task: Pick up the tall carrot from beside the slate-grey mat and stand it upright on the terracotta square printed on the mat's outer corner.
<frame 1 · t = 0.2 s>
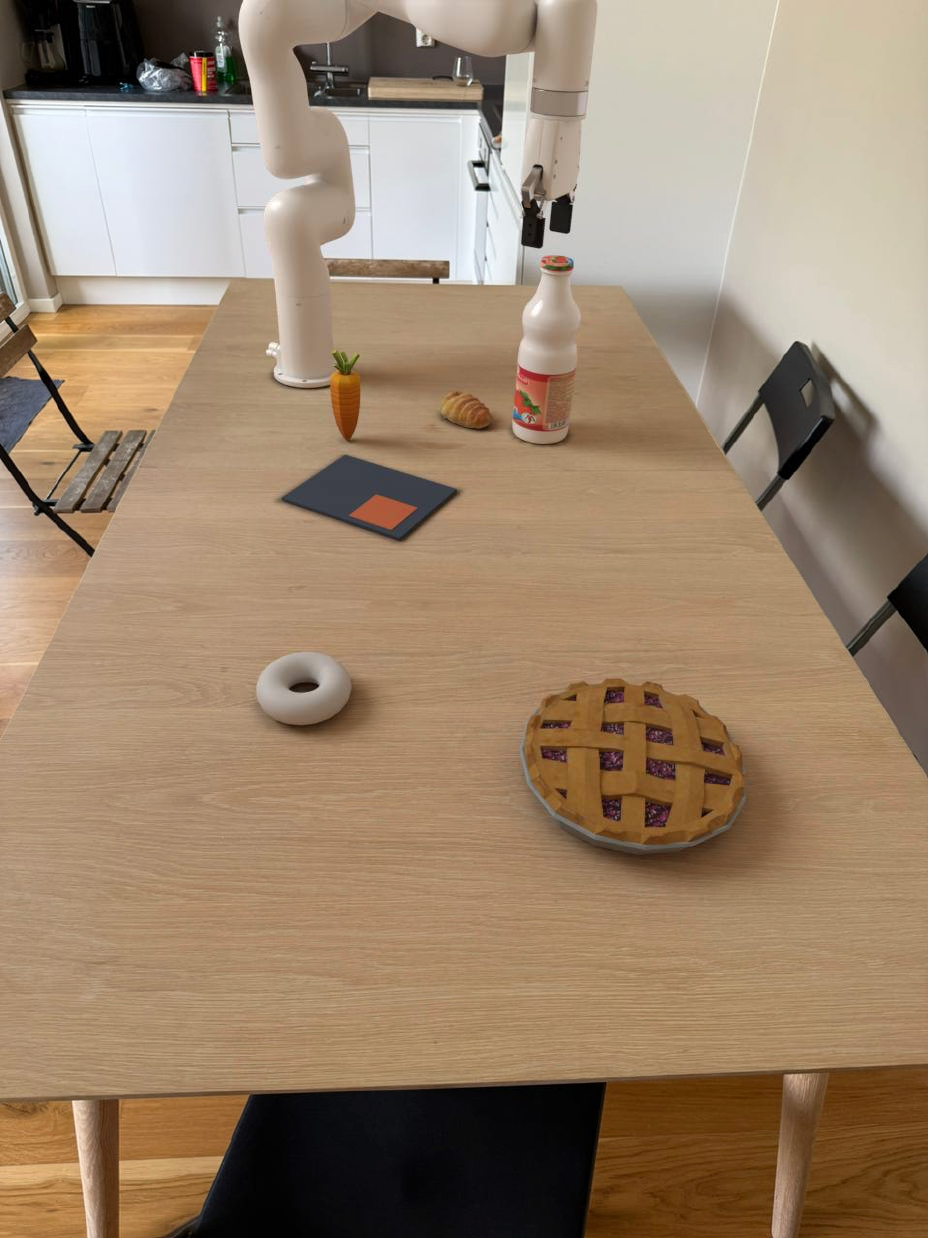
hand: (545, 239, 129), 31 cm above the table, tool pointing down, fingers open, 9 cm apart
fruit juice: (539, 433, 149), on the table
mat: (370, 496, 130), on the table
carrot: (347, 441, 144), on the table
donut: (305, 700, 95), on the table
pie: (627, 780, 88), on the table
pastry: (465, 419, 152), on the table
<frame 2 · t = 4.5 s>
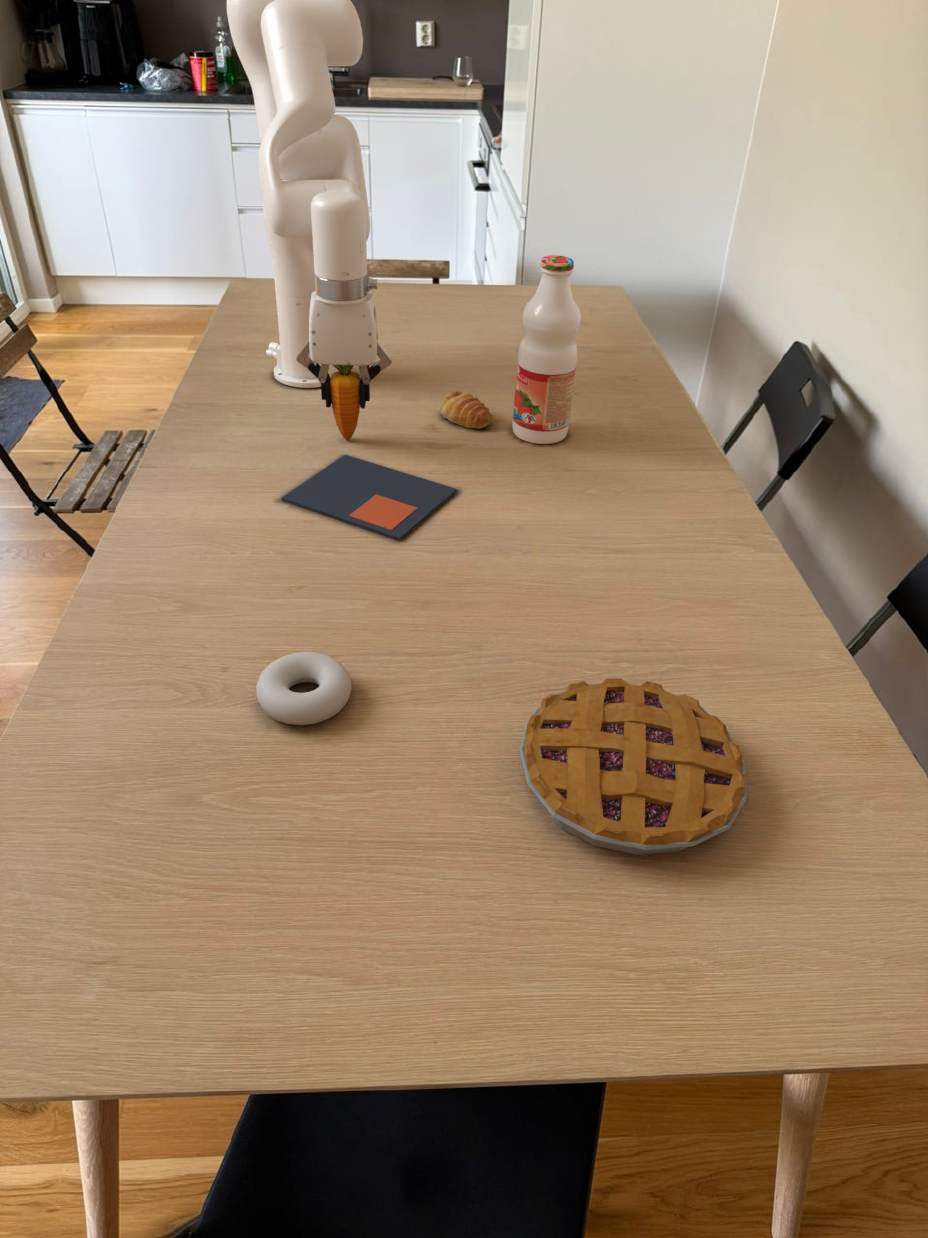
hand: (346, 403, 140), 6 cm above the table, tool pointing down, fingers closed on carrot, 4 cm apart
carrot: (347, 441, 144), on the table, touching gripper
everything else where it was.
when the fingers open (7 cm above the table, at t = 12.3 s): carrot stays where it is, resting on mat.
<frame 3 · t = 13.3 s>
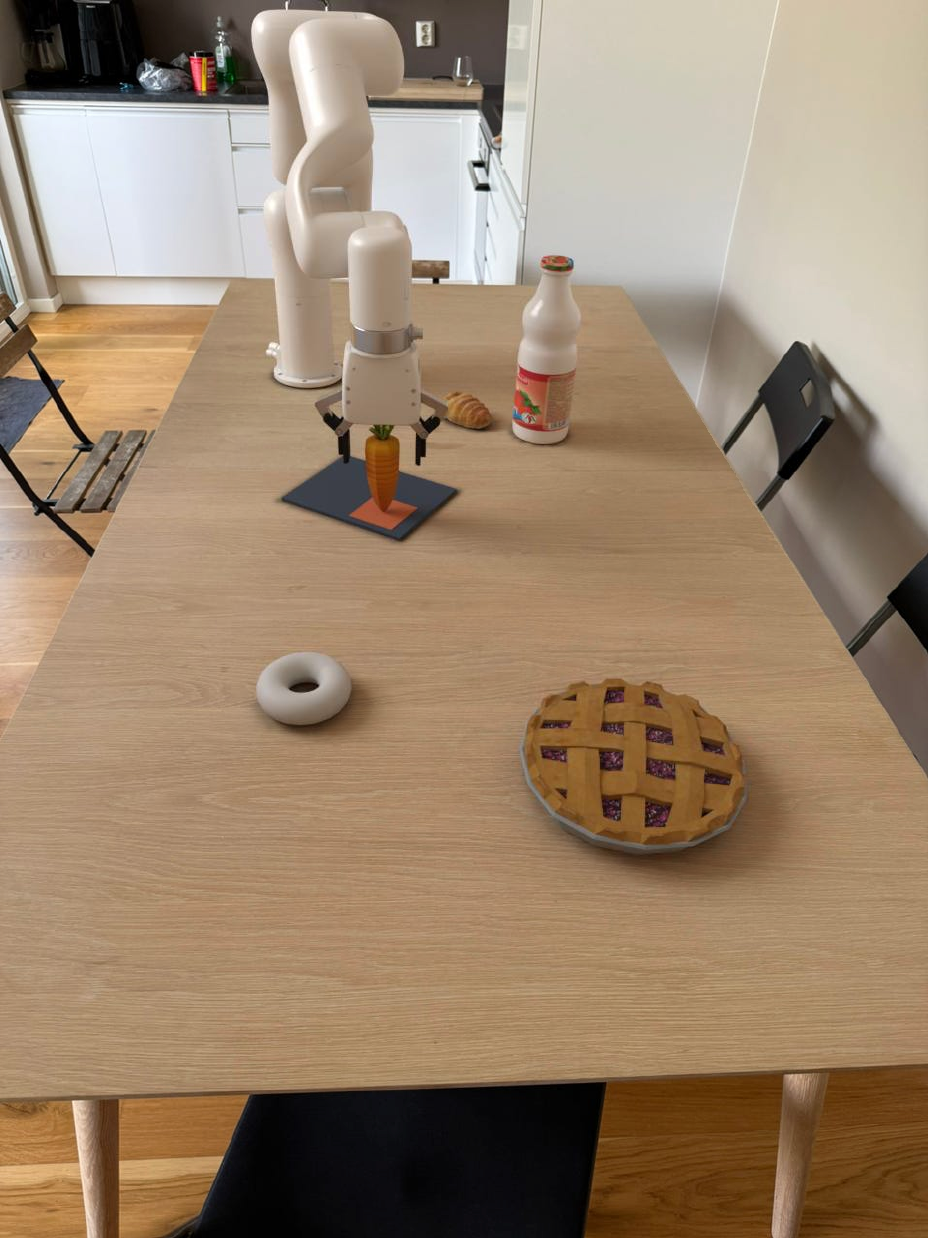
hand: (382, 460, 121), 9 cm above the table, tool pointing down, fingers open, 9 cm apart
carrot: (383, 512, 126), resting on mat
everything else where it was.
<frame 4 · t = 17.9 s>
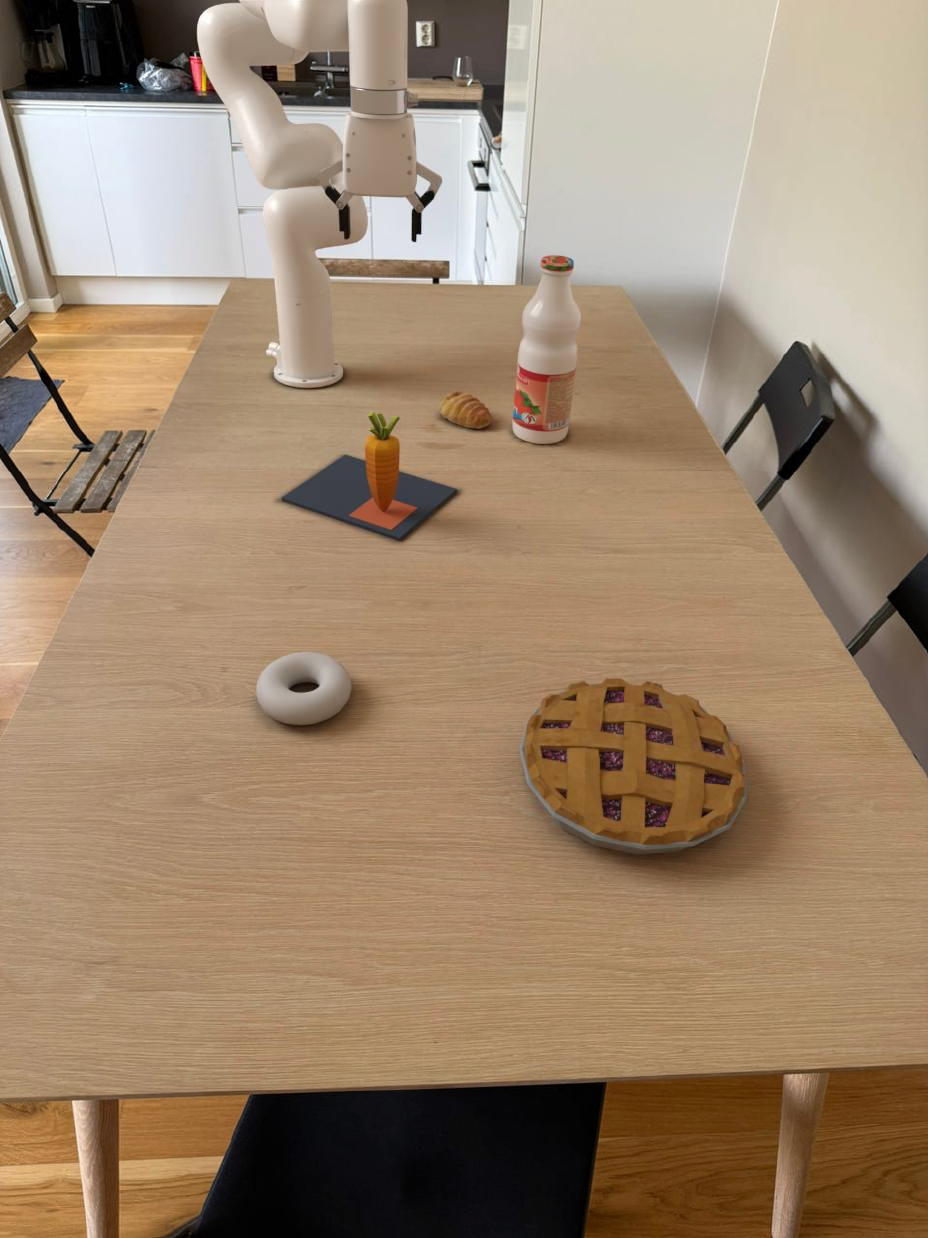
hand: (380, 238, 128), 30 cm above the table, tool pointing down, fingers open, 9 cm apart
nothing on the table moved.
at the end: carrot inside the target area on the mat (0.4 cm from its centre), point 0.4 cm above the mat's base; carrot tilted 0°; the gripper is holding nothing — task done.
